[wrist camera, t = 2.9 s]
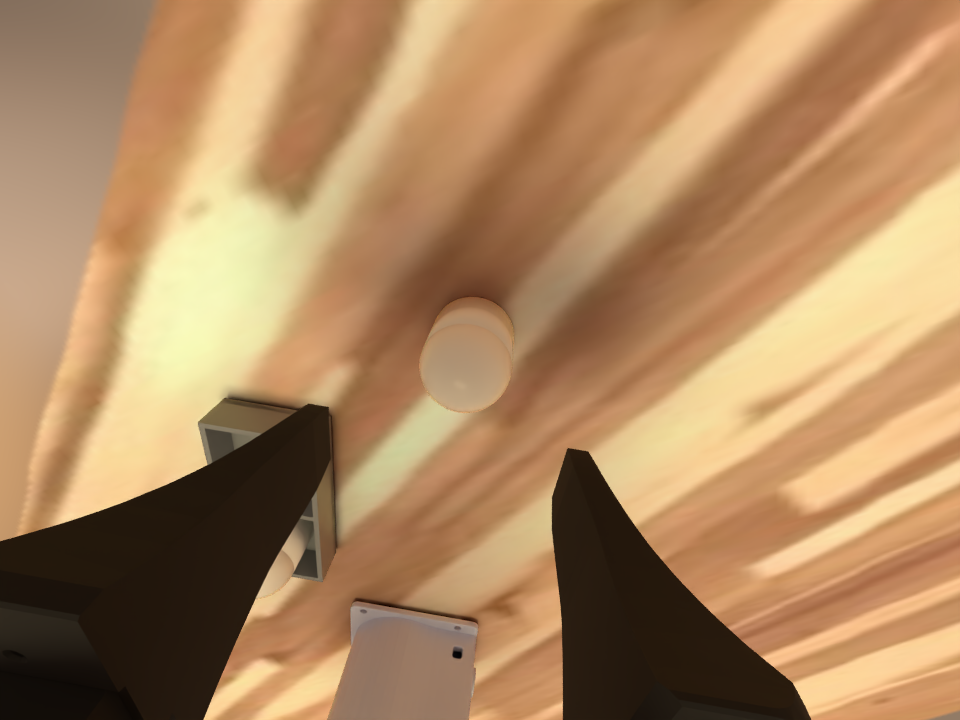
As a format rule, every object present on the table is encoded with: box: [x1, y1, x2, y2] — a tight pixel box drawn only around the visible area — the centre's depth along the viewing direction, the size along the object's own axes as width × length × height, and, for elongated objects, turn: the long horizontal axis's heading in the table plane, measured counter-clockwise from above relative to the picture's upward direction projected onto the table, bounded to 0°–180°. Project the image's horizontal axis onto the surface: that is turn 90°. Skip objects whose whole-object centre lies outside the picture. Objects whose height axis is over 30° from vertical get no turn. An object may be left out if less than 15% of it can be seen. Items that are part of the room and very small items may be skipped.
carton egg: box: [256, 519, 314, 599], centre depth 25 cm, size 4×4×5 cm
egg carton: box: [198, 398, 336, 582], centre depth 25 cm, size 6×12×2 cm, turn 172°
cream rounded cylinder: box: [419, 297, 514, 413], centre depth 18 cm, size 4×4×5 cm
